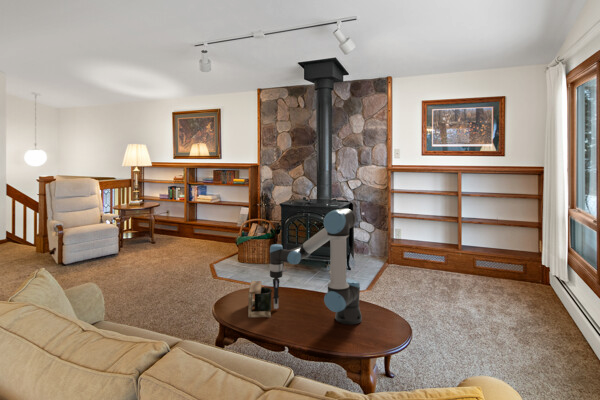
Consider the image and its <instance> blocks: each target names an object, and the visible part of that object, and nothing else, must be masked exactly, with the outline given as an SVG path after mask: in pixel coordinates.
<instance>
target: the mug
mask: <svg viewBox="0 0 600 400" xmlns="http://www.w3.org/2000/svg"><path fill="white" fill-rule="evenodd" d="M272 292H273V290H272V288H270V287H265V286H264V287H262V286H261V294H254V300H255V305H254V310H255V311H268V312H271V310H272Z"/></svg>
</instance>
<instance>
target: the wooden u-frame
mask: <svg viewBox="0 0 600 400" xmlns="http://www.w3.org/2000/svg"><path fill="white" fill-rule="evenodd" d="M261 288H262V280H251V281H250V283H249V290H248V295H247V298H248V299H247V301H248V310H247V312H248V315H247V316H248V318H270V319H271V317H272V314H271V313H272V312H271V311H256V310H255V311H253V306H255V299H254V296H253V295H255V294H261Z"/></svg>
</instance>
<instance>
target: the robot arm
mask: <svg viewBox="0 0 600 400" xmlns="http://www.w3.org/2000/svg"><path fill="white" fill-rule="evenodd" d="M356 221H357V217H356V214H355V212H354V211H353V210H351V209H349V208H347V207H346V208H345V207H344V208H339V209H333V210H331V211H329V212H328V213H326V215H325V216H324V218H323V227H324V228H322V229H321V230H320V231H317V233H315V234H314V235H313V236H311V237H310V238H308V239H307V240H306V241H304V243H302V244H301V245H299V246H298V247H295V248H291V249H285V248H283V245H282V244H280V243H275V244H271V245H270V247H269V265H268V267H269V277H270V278H272V284H273V285H272V286H273V297H272V299H273V309H274V310H278V309H279V297H280V295H279V288H280V282H281V281H280V279H279V278H282V277H283V269H284V268H283V267H284V265H283V263H286V264H290V265H298V264H299V263H300V262H301V260H303V259H306V258H308V257H309V256H310V255H311V254H312V253H313V252H314V251H317V250H318V249H319V248H321V247H322V246H323V245H324V244H326V243H328V242H330V243H329V245H330V246H329V250H330V251H329V252H330V253H329V255H330V256H329V257H330V258H329V260H330V261H329V263H330V264H329V265H330V271H329V272H330V273H329V274H330V276H329V277H330V279H329V283H328V284H327V292H326V293H325V294H324V297H323V301H324V304H325V306H326V307H327V308H328V310H330V311H331V312H333V313H335V316H334V317H335V320H336V322H338V323H340V324H343V325H348V326H349V325H350V326H351V325H358V324H360V323H362V321H363V320H362V319H363V316H362V313H361V308H360V293H361V292H360V291H361V285H360V284H361V283H360V281H358V280H356V279H351V278H347V238H348V237H350V229H351V228H353V227H354V226H355V224H356Z"/></svg>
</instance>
